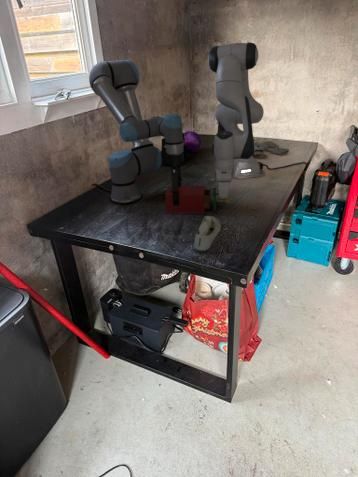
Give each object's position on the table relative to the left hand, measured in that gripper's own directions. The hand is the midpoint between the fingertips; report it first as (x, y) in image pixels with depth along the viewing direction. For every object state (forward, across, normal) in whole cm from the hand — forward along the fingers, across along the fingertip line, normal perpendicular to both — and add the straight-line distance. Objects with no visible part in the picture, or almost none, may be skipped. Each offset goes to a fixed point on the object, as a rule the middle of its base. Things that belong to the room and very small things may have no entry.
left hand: (177, 200), depth 152 cm
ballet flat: (+4, +27, +14) cm, 31 cm away
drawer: (+3, 0, +13) cm, 13 cm away
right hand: (0, 0, +21) cm, 21 cm away
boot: (+4, -116, +24) cm, 118 cm away
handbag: (+4, -72, -9) cm, 73 cm away
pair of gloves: (+4, -88, +49) cm, 101 cm away
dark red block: (+4, 0, +4) cm, 6 cm away
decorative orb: (+4, -92, 0) cm, 93 cm away
